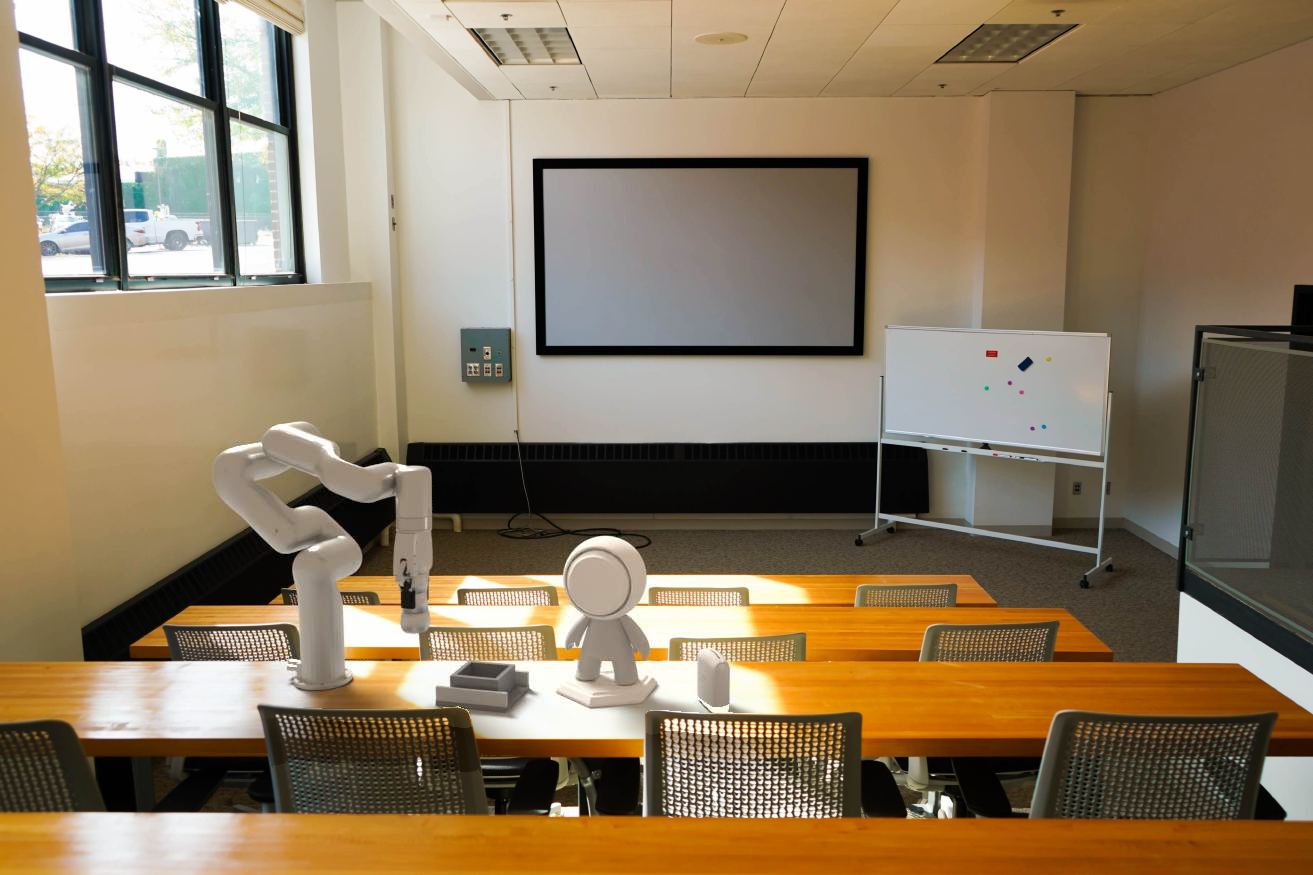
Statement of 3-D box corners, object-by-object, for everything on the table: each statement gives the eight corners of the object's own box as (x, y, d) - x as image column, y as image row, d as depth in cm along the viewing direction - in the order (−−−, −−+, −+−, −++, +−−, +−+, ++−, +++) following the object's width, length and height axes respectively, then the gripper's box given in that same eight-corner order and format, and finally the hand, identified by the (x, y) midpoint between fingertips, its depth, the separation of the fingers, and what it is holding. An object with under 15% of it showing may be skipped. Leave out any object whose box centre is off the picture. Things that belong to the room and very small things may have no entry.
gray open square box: (435, 705, 207) (435, 678, 207) (462, 681, 221) (462, 656, 220) (505, 712, 204) (505, 684, 203) (529, 688, 217) (529, 662, 217)
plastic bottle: (434, 628, 216) (434, 540, 214) (424, 638, 210) (423, 547, 207) (406, 626, 217) (405, 539, 215) (395, 636, 210) (394, 546, 208)
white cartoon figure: (545, 702, 209) (544, 543, 205) (583, 666, 231) (583, 522, 227) (633, 713, 204) (634, 550, 200) (664, 675, 226) (665, 528, 222)
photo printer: (694, 699, 212) (695, 644, 210) (712, 696, 213) (713, 642, 212) (713, 717, 202) (714, 659, 201) (732, 714, 204) (732, 657, 202)
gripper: (416, 514, 219) (417, 592, 222) (378, 530, 203) (379, 614, 205) (447, 516, 218) (447, 595, 220) (411, 532, 201) (412, 617, 203)
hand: (414, 603), depth 212 cm, fingers closed on plastic bottle, 5 cm apart
